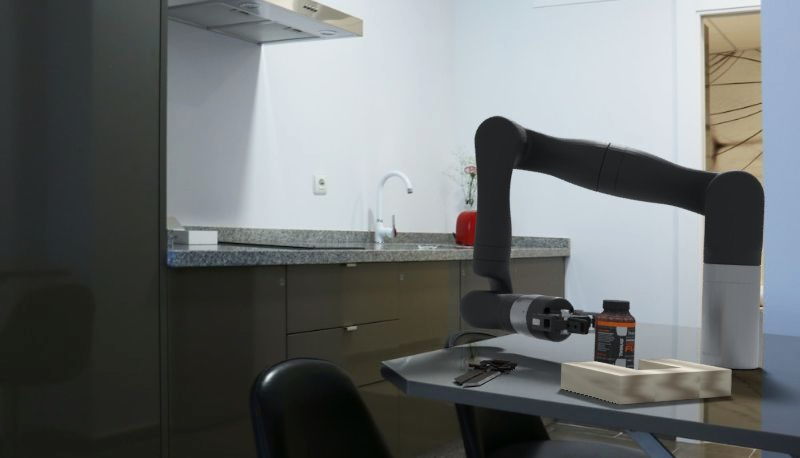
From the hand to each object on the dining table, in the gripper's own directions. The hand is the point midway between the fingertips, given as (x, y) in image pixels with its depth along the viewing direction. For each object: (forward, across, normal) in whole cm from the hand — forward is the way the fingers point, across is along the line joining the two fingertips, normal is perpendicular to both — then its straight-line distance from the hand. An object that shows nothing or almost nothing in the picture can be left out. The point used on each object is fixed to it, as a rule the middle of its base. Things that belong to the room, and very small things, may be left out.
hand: (608, 327), depth 128 cm
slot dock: (+15, -7, +7) cm, 18 cm away
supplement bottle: (+1, 0, +7) cm, 7 cm away
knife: (-4, -20, +8) cm, 22 cm away
